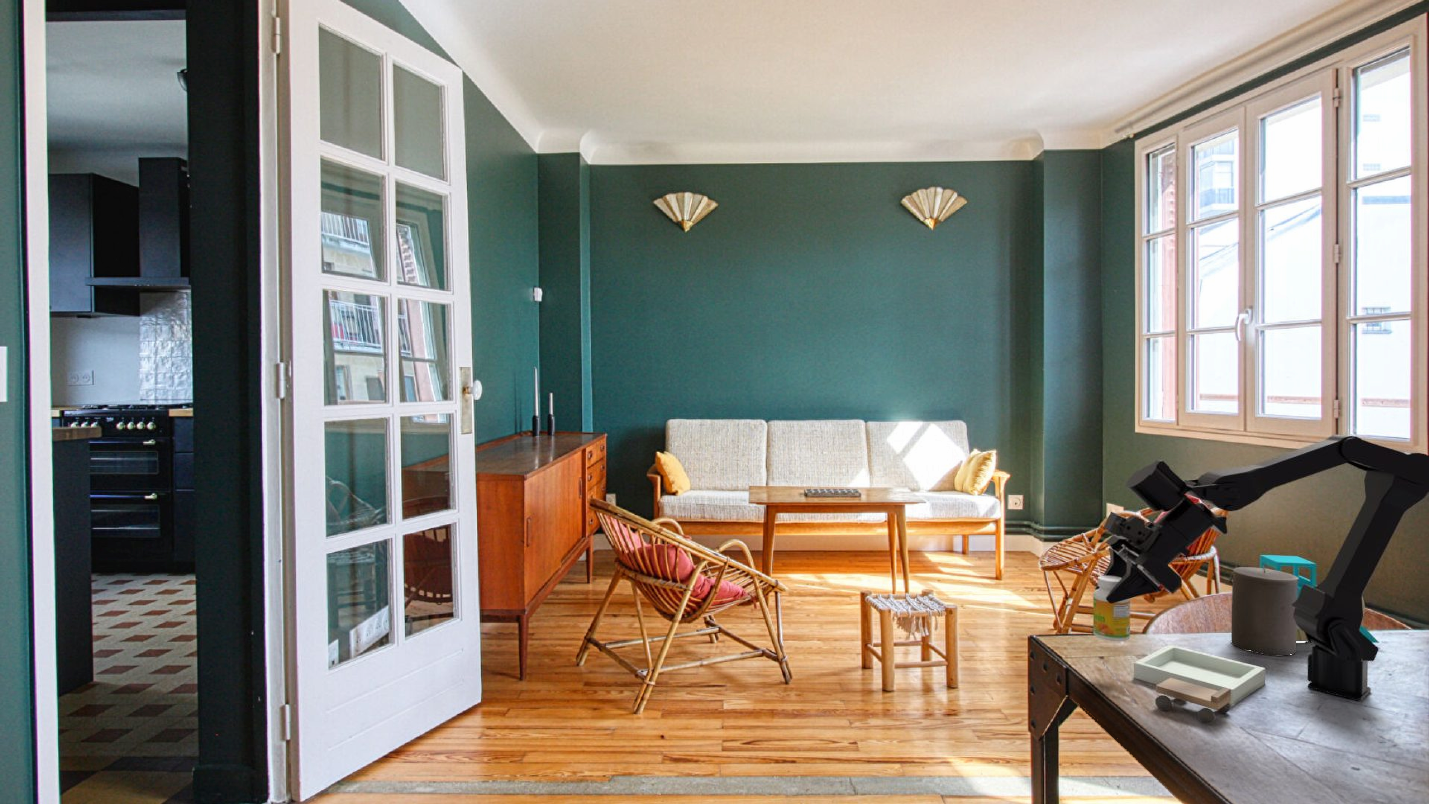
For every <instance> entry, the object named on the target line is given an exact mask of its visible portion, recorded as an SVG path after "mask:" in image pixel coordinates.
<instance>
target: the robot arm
mask: <svg viewBox="0 0 1429 804" xmlns="http://www.w3.org/2000/svg"><path fill="white" fill-rule="evenodd" d="M1345 464H1347V465H1349V466H1351V467H1353V468H1356V469H1358V470H1361V471H1363V472H1365V476H1364V480H1363V482H1364V483H1363V484H1364V490H1365V491H1364V492H1365V493H1364V494H1365V495H1364V496H1365V499H1364V502H1363V504H1362V506H1361V508H1360V510H1359V511H1358V514H1357V516H1356V518H1355V520H1354V522H1353V523H1352V526H1351V528H1350V529H1349V532H1348V533H1347V535H1346V537H1345V539H1344V542H1343V543H1342V546H1341V547H1340V549H1339V550H1338V551H1339V552H1338V554H1337V555H1336V557H1335V559H1334V561H1333V563H1332V565H1331V567H1330V569H1329V571H1328V573H1327V575H1326V577H1325V579H1323V581H1321V582H1320V583H1319V584H1316V585H1317V586H1316V587H1314V588H1313V587H1311V586H1309V585H1306V584H1304V585H1303V587H1302V588H1301V591H1300V595H1299V597H1298V599H1297V600H1296V601H1295V602H1294V603H1293V604H1292V606H1293V607H1295V610H1294V613H1293V618H1294V619H1295V622H1296V624H1297V626H1298V627H1299V628H1300V629H1301V630H1303V631H1304V632H1305V635H1306V637H1307V640H1308V641H1309V642H1310V643H1313V644H1314V645H1313V646H1312V647H1311V653H1310V654H1308V655H1307V678H1306V679H1307V681H1308V682H1309V683H1307V684H1308V685H1307V687H1308V689H1312V690H1316V691H1318V692H1319V691H1320V692H1323V693H1328V694H1332V695H1335V696H1340V697H1343V698H1347V699H1350V700H1354V701H1355V700H1356V701H1362V700H1363V699H1364V698H1365V697H1366V696H1367V695H1369V694H1370V693H1371V691H1372V689H1371V687H1370V686H1368V677H1369V675H1368V672H1369V671H1368V666H1369V664H1368V663H1369V662H1374V661H1375V659H1376V657H1377V654H1378V652H1379V647H1378V646H1377V645H1375V643H1373V642H1371V641H1370V640H1369V639H1368V638H1367V637H1365V636H1364V635H1363V634H1362V633H1361V632H1360V628H1361V625H1362V623H1363V620H1364V615H1365V614H1364V615H1363V603H1362V597H1363V595H1364V592H1365V591H1366V588H1367V586H1368V584H1369V583H1370V581H1371V579H1372V577H1373V575H1374V574H1375V570H1376V569H1377V568H1378V566H1379V563H1380V561H1381V560H1382V557H1383V556H1384V554H1385V552H1386V549H1387V548H1388V546H1389V544H1390V542H1391V540H1392V538H1393V536H1394V535H1395V532H1396V530H1398V529H1397V528H1398V526H1399V525H1400V523H1401V520H1402V519H1403V517H1404V515H1405V514H1406V512H1407V511H1408V510H1410V509H1412V508H1413V507H1414V506H1416V505H1417V504H1418V503H1420V502H1422V501H1423V500H1424V499H1425V498H1426V497H1427V496H1428V495H1429V455H1428V454H1426V453H1421V452H1414V451H1407V450H1399V449H1398V450H1397V449H1393V448H1389V447H1386V446H1383V445H1380V444H1376V443H1372V442H1370V441H1367V440H1365V439H1362V438H1360V437H1359V436H1357V435H1356V436H1354V435H1347V434H1345V435H1344V434H1335V435H1334V434H1333V435H1331V436H1328V438H1326V439H1324V440H1320V441H1318V442H1315V443H1312V444H1309V445H1307V446H1303V447H1301V448H1298V449H1295V450H1292V451H1290V452H1287V453H1284V454H1281V455H1278V456H1276V457H1272V458H1270V459H1268V460H1264V461H1261V462H1258V463H1255V464H1252V465H1246V466H1237V467H1236V466H1235V467H1229V468H1223V469H1216V470H1212V471H1206V472H1205V473H1203V474H1201V475H1200V476H1199V477H1198V478H1192V479H1184V480H1183V479H1182V478H1181V477H1180V476H1178V474H1176V472H1174V471H1173V470H1172V469H1171V467H1170V466H1169V465H1168V464H1167V463H1166V462H1165V461H1163V460H1161V459H1155V461H1154V462H1152V463H1151V464H1148V465H1146V466H1144V467H1143V468H1141V469H1140V470H1137V471H1135V472H1134V473H1133V474H1132V475H1131V476H1130V477H1129V479H1128V480H1127V481H1126V484H1125V486H1126V488H1127V489H1128V490H1129V491H1130V492H1132V493H1133V494H1134V495H1135V497H1136V498H1138V499H1139V500H1140V501H1142V503H1144V504H1145V506H1147V507H1148V508H1149V510H1150V511H1152V512H1159V511H1162V512H1163V513H1165V514H1164V515H1163V516H1162V517H1161V518H1160V519H1159V520H1158V521H1156V522H1154V521H1147V522H1145V520H1144V519H1142V518H1139V517H1137V516H1135V515H1133V514H1132V515H1130V516H1128V517H1125V516H1122V515H1120V514H1117V513H1116V512H1113V511H1110V513H1109V515H1108V517H1107V519H1106V521H1105V523H1104V525H1103V527H1102V529H1104V530H1106V531H1108V533H1111V534H1113V535H1111V537H1109V539H1107V540H1106V541H1105V544H1106V545H1107V546H1108V547H1109V548H1108V552H1109V557H1110V558H1109V559H1110V560H1109V561H1110V562H1109V564H1108V566H1107V567H1106V569H1105V571H1104V573H1103V574H1102V576H1116V577H1121V578H1122V579H1121V580H1120V581H1119V582H1118V583H1117V585H1116V586H1115V587H1114V588H1113V589H1112V590H1111V592H1110V593H1109V594H1108V596H1107V597H1106V600H1107V601H1108V602H1109V603H1111V604H1112V603H1116V602H1119V601H1123V600H1126V599H1130V600H1131V599H1132V598H1136V597H1137V598H1138V597H1140V596H1144V595H1149V594H1153V593H1157V592H1158V593H1161V592H1162V591H1163V590H1162V588H1163V589H1164V590H1165V591H1167V592H1168V593H1170V594H1171V595H1173V594H1175V593H1176V592H1177V591H1178V590H1179V589H1181V588H1182V587H1183V584H1182V583H1183V581H1182V580H1183V579H1182V577H1181V576H1180V575H1179V574H1178V573H1177V572H1176V571H1175V570H1173V568H1172V567H1171V566H1170V564H1171V563H1172V562H1173V561H1174V560H1176V558H1178V557H1180V555H1182V556H1184V557H1187V556H1188V555H1189V554H1191V551H1190V549H1189V547H1191V545H1193V544H1194V543H1195V542H1196V541H1198V539H1200V538H1201V537H1202V536H1203V535H1204V534H1206V533H1207V532H1208V531H1209V530H1210V529H1212V530H1213V531H1216V532H1218V533H1220V534H1223V535H1227V534H1228V532H1229V531H1228V526H1227V519H1228V518H1227V516H1224V515H1221V514H1215V513H1214V512H1213V511H1212V510H1211V509H1210V508H1209V507H1208V506H1207V505H1209V506H1211V507H1214V508H1216V509H1219V510H1222V511H1227V512H1235V511H1239V510H1242V509H1243V508H1245V507H1247V506H1249V505H1251V504H1253V503H1254V502H1257V501H1258V500H1260V499H1261V498H1262V497H1263V496H1264V495H1265V494H1266V493H1268V492H1269V491H1271V490H1273V489H1275V488H1278V487H1280V486H1281V487H1282V486H1283V485H1286V484H1290V483H1292V482H1296V481H1298V480H1301V479H1304V478H1307V477H1311V476H1313V475H1315V474H1319V473H1321V472H1324V471H1327V470H1329V469H1330V470H1331V469H1333V468H1336V467H1338V466H1341V465H1345ZM1189 496H1190V497H1194V498H1197V499H1198V500H1200V501H1201V502H1197V503H1195V502H1194V501H1192V499H1190V498H1189ZM1205 504H1206V505H1205ZM1161 585H1162V586H1163V587H1162V588H1160V586H1161ZM1097 589H1099V586H1098V584H1097V585H1096V587H1095V588H1094V591H1095V590H1097ZM1309 642H1308V643H1309Z"/></svg>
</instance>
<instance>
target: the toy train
mask: <svg viewBox="0 0 1429 804" xmlns="http://www.w3.org/2000/svg"><path fill="white" fill-rule="evenodd" d="M1266 565H1268V566H1270V567H1271V568H1273V569H1274V570H1276V571H1281V572H1282V567H1293V568H1292V569H1293V571H1292V573H1293V574H1292V575H1294V576H1296V577H1298V578H1299V579H1298V585H1297V599H1298V597H1299V595H1300V591H1301V588H1302V587H1303V585H1304V584H1306V585H1309V586H1311V587H1313V588H1314V587H1316V586H1317V585H1318V584H1317V563H1315V562H1313V561H1310V560H1307V559H1305V558H1303V557H1299V556H1297V555H1276V554H1275V555H1273V554H1272V555H1269V554H1260V555H1259V568H1263V566H1264V568H1265V569H1266ZM1301 567H1302V568H1305V569H1308V570H1310V571H1309V572H1310V574H1309V579H1308V578H1306V577H1304V576H1302V575H1300V568H1301ZM1362 603H1363V615H1365V613H1366V604H1365V601H1364V597H1363V596H1362ZM1360 632H1361V633H1362V634H1363V635H1364V636H1365V637H1367V638H1368V639H1369V640H1370V641H1371V642H1372V643H1373V644H1375V643H1376V644H1379V643H1380V642H1379V641H1378V640H1377V639H1376V637H1374V636H1373V635H1372V634H1371V632H1370V631H1369V630H1368V629H1367V628H1366V627H1365V626H1364V625H1362V624H1361V628H1360ZM1296 641H1308V640H1307V637H1306V635H1305V632H1304V631H1303V630H1301V629H1300V628H1299V627H1298V626H1297V631H1296Z"/></svg>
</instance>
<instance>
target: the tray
mask: <svg viewBox="0 0 1429 804" xmlns="http://www.w3.org/2000/svg"><path fill="white" fill-rule="evenodd" d="M1133 678H1134V679H1137V680H1140V681H1144V682H1148V683H1151V684H1155V685H1158V684H1160V683H1162V682H1164V681H1165V680H1167V679H1169V678H1173V679H1177V680H1180V681H1184V682H1188V683H1191V684H1195V685H1198V686H1202V687H1206V688H1209V689H1213V690H1216V691H1219V690H1221V689H1222V688H1224V687H1225V688H1229V689H1231V701H1230V704H1231V707H1235V705H1237V704H1238V703H1239V702H1241V701H1242V700H1245V698H1247V697H1248V696H1249V695H1251V694H1252V693H1254V692H1255V691H1257V690H1258V689H1259V688H1262V686H1264V685H1265V684H1266V668H1265V667H1263V666H1258V665H1254V664H1251V663H1250V664H1249V663H1246V662H1242V661H1238V660H1234V659H1230V658H1226V657H1222V656H1217V655H1213V654H1209V653H1204V652H1201V651H1197V650H1193V649H1189V648H1184V647H1181V646H1176V645H1173V644H1168V645H1167V646H1164V647H1163V648H1160V649H1159V650H1157V651H1155V652H1152V653H1151V654H1149V655H1146V656H1144V657H1142V658H1141V659H1138V660H1137V661H1134V662H1133Z"/></svg>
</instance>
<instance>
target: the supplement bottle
mask: <svg viewBox="0 0 1429 804" xmlns="http://www.w3.org/2000/svg"><path fill="white" fill-rule="evenodd" d="M1121 579H1122V578H1121V577H1116V576H1103V575H1100V576H1098V577H1097V585H1098V586H1099V589H1097V590H1095V589H1094V592H1093V595H1092V597H1093V600H1092V601H1093V602H1092V605H1093V609H1092V610H1093V614H1092V615H1093V617H1092V621H1093V623H1092V625H1093V627H1092V628H1093V629H1092V630H1093V631H1092V632H1093V635H1094V636H1095V637H1097V638H1099V639H1101V640H1105V641H1110V642H1126V641H1128V640H1130V637H1131V598H1130V599H1126V600H1123V601H1119V602H1116V603H1112V604H1111V603H1109V602H1108V601H1107V600H1106V597H1107V596H1108V594H1109V593H1110V592H1111V590H1112V589H1113V588H1114V587H1115V586H1116V585H1117V583H1118V582H1119V581H1120V580H1121Z"/></svg>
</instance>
